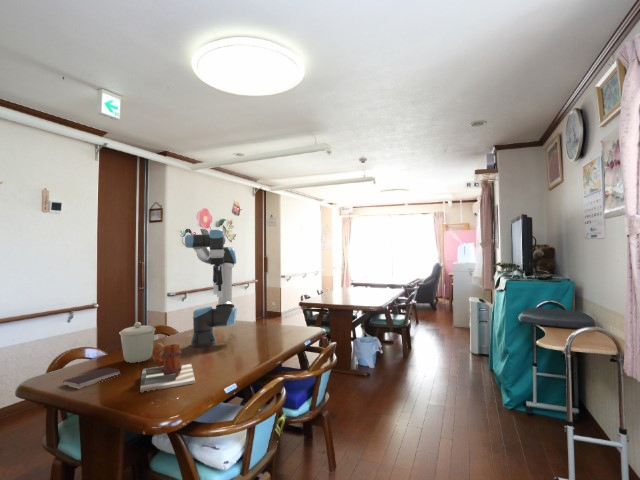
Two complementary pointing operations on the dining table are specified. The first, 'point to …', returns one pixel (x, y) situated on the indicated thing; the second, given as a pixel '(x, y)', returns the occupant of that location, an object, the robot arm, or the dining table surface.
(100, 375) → the book
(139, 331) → the canister
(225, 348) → the dining table surface
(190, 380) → the notched board
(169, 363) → the mug
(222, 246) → the robot arm
